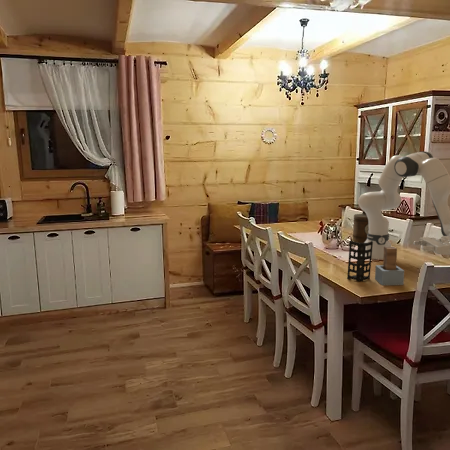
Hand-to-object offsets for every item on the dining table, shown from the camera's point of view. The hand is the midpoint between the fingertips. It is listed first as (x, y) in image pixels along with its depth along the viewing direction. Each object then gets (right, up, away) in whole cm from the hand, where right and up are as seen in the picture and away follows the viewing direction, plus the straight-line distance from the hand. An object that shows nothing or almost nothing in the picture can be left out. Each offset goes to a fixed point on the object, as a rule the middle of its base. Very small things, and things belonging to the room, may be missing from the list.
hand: (418, 245), depth 203 cm
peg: (-14, -17, 0) cm, 22 cm away
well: (-14, -18, 0) cm, 23 cm away
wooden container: (+4, -1, +92) cm, 92 cm away
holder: (-27, -17, +5) cm, 32 cm away
